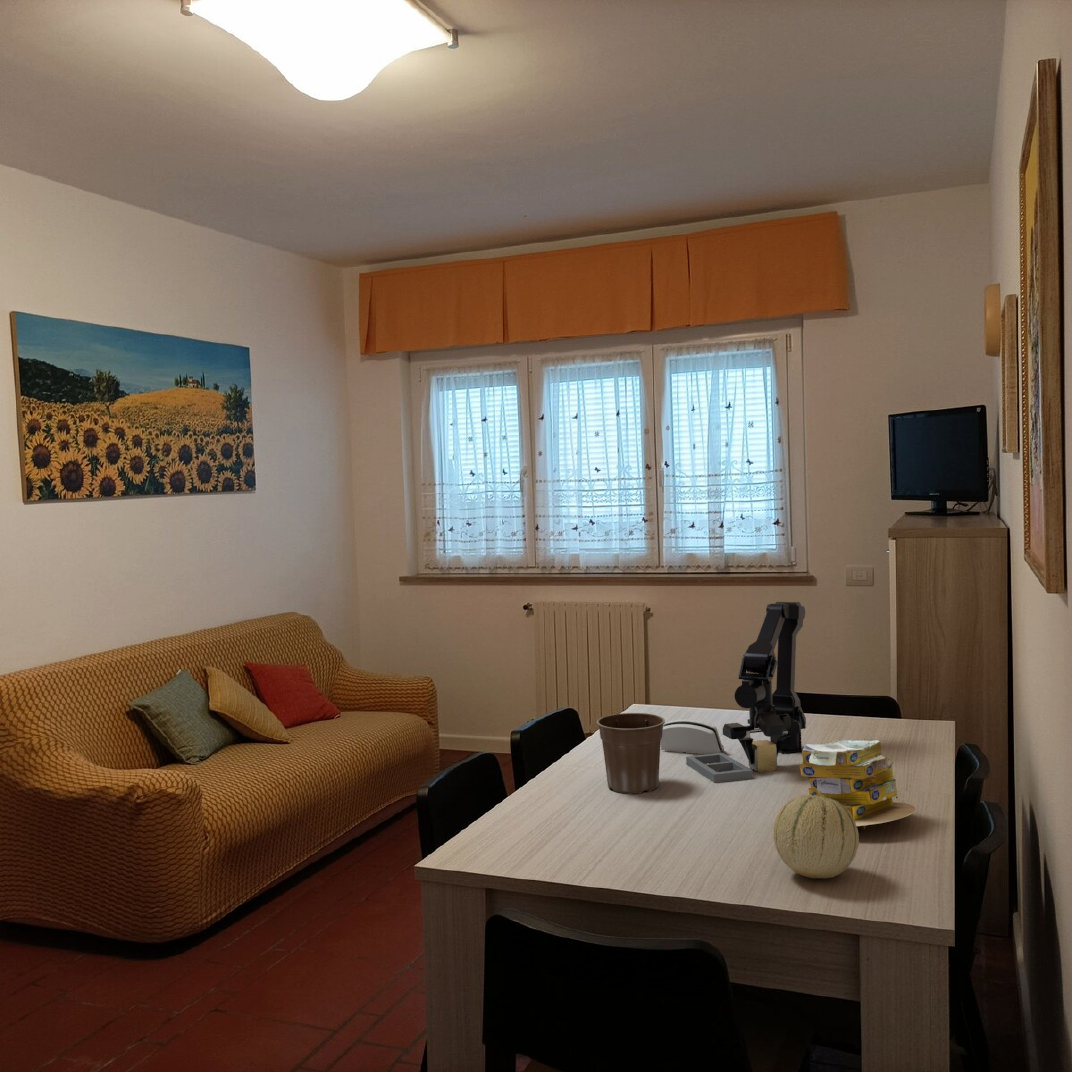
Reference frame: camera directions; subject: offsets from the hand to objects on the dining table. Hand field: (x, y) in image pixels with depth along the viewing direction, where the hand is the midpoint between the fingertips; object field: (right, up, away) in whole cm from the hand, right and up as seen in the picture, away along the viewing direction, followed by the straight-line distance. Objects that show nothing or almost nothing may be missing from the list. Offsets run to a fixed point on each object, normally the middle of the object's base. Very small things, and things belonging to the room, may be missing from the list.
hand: (762, 762), depth 255 cm
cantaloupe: (-6, -5, -71) cm, 71 cm away
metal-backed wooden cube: (0, -2, 0) cm, 2 cm away
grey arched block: (-15, -2, +19) cm, 24 cm away
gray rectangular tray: (-11, -2, 0) cm, 11 cm away
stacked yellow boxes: (+9, -3, -42) cm, 43 cm away
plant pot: (-33, -4, -11) cm, 35 cm away
